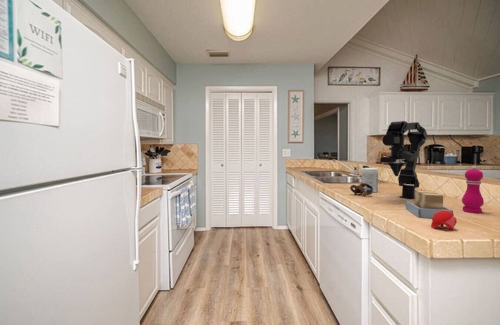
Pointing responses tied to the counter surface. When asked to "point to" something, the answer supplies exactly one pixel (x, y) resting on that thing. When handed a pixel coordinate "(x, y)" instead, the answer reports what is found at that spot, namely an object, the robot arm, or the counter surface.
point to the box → (424, 210)
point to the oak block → (428, 200)
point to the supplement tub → (370, 178)
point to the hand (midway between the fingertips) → (396, 176)
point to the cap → (444, 219)
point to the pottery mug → (361, 189)
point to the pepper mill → (473, 191)
